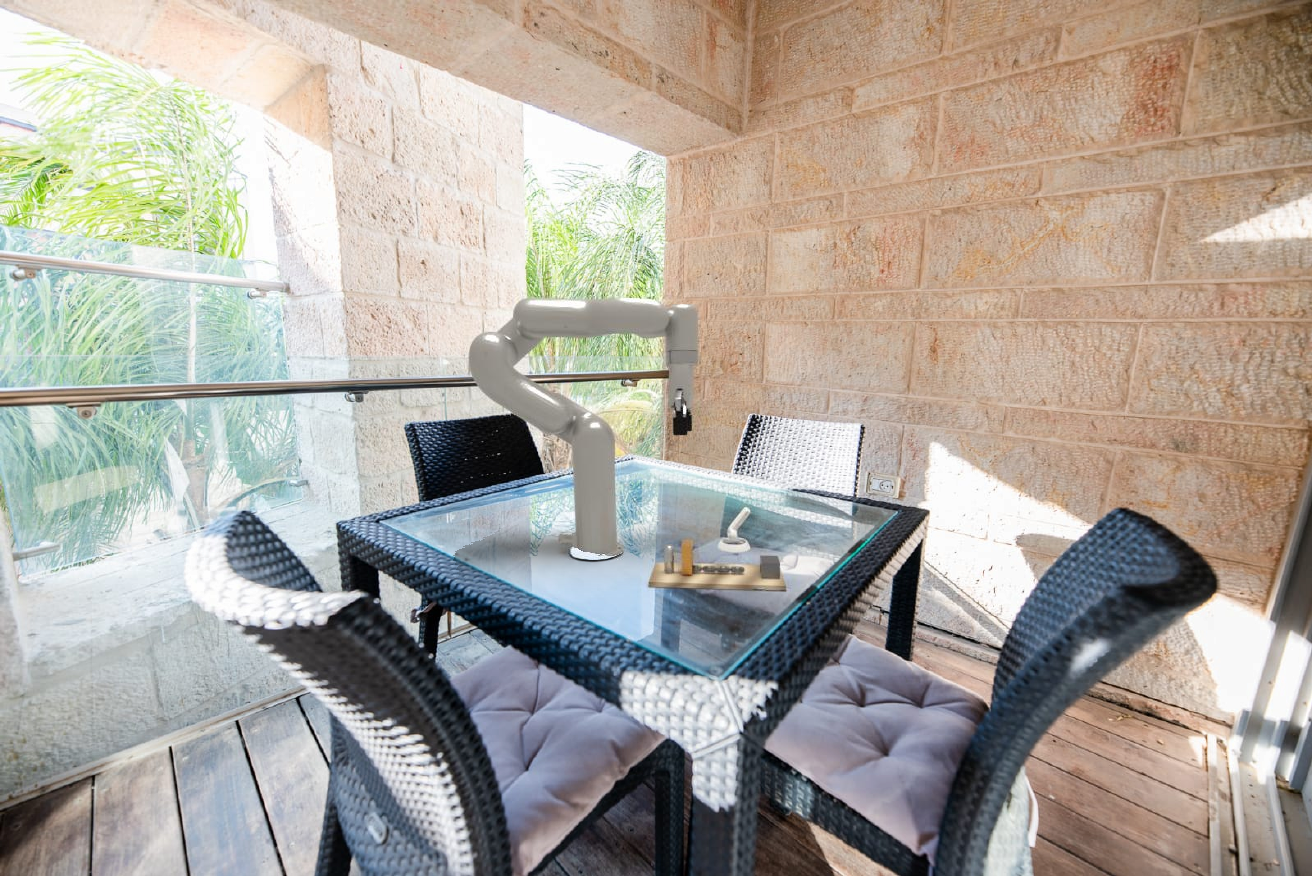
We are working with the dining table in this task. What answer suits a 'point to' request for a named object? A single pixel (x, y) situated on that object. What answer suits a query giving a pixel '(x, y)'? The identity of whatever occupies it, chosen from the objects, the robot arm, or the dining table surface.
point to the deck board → (714, 578)
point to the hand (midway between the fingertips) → (682, 433)
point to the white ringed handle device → (735, 535)
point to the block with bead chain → (689, 567)
